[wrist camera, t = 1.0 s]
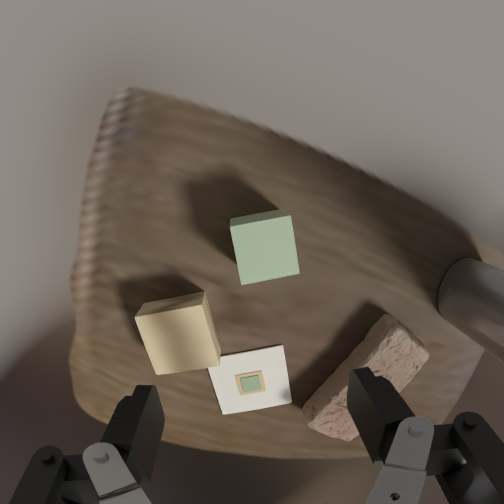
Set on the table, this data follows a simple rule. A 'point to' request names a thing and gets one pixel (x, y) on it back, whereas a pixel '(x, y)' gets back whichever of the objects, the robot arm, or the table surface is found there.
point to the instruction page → (251, 380)
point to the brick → (379, 361)
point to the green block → (264, 246)
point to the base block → (179, 333)
